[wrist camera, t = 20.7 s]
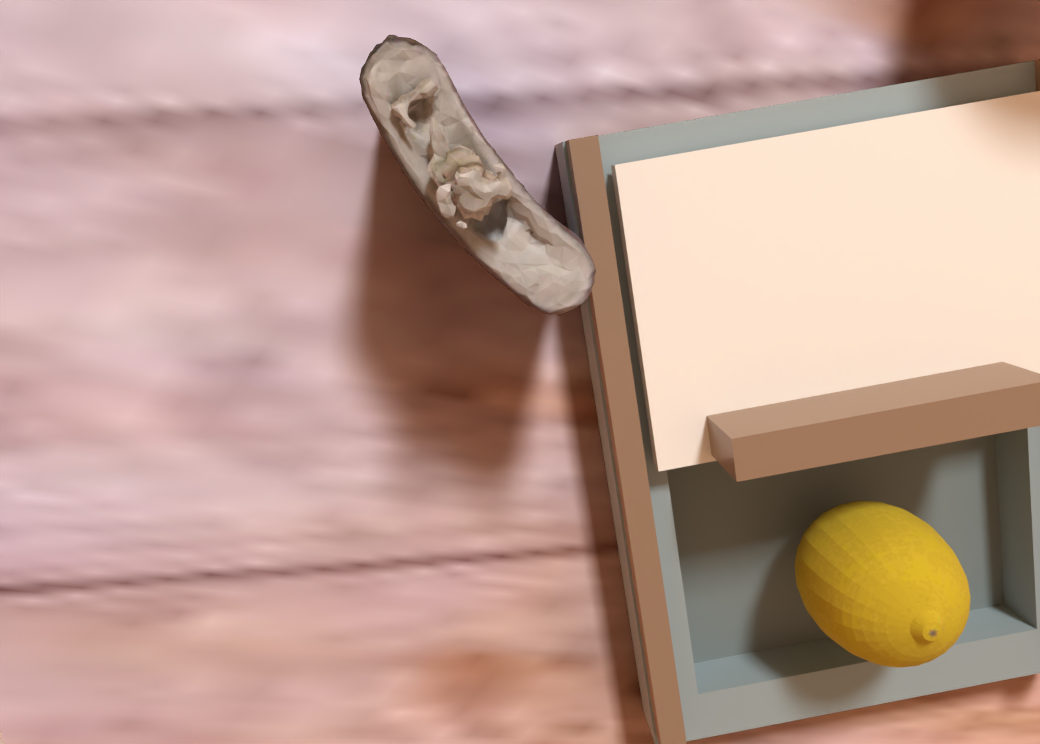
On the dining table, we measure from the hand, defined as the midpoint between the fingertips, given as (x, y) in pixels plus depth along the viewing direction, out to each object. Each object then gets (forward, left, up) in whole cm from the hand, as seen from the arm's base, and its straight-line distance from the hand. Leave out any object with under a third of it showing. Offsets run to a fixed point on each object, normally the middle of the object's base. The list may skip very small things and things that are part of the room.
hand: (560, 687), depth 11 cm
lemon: (+12, -11, -24) cm, 29 cm away
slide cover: (+13, 0, -21) cm, 25 cm away
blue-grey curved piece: (0, +6, -25) cm, 25 cm away
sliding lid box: (+13, -5, -24) cm, 28 cm away
